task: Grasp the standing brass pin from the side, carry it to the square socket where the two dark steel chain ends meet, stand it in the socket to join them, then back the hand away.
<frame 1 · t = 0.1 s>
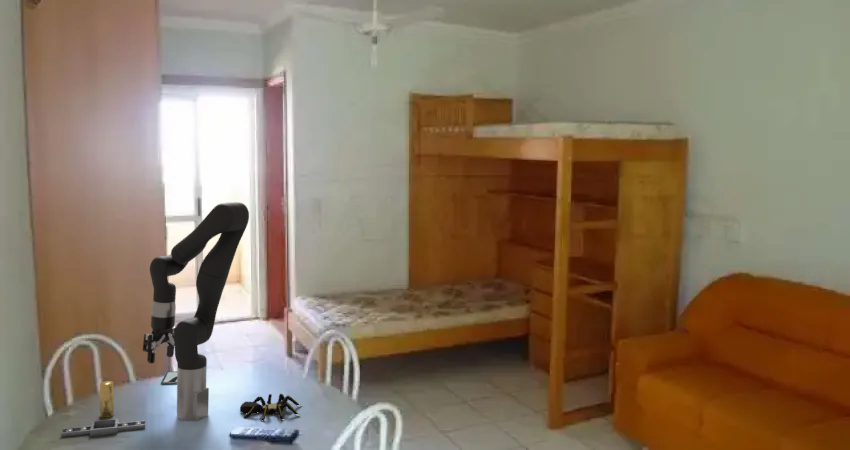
hand: (160, 359, 227), 17 cm above the table, tool pointing down, fingers open, 8 cm apart
brass pin: (106, 415, 221), on the table
smartphone: (173, 379, 260), on the table
chain ends: (104, 430, 209), on the table
toy: (271, 413, 231), on the table
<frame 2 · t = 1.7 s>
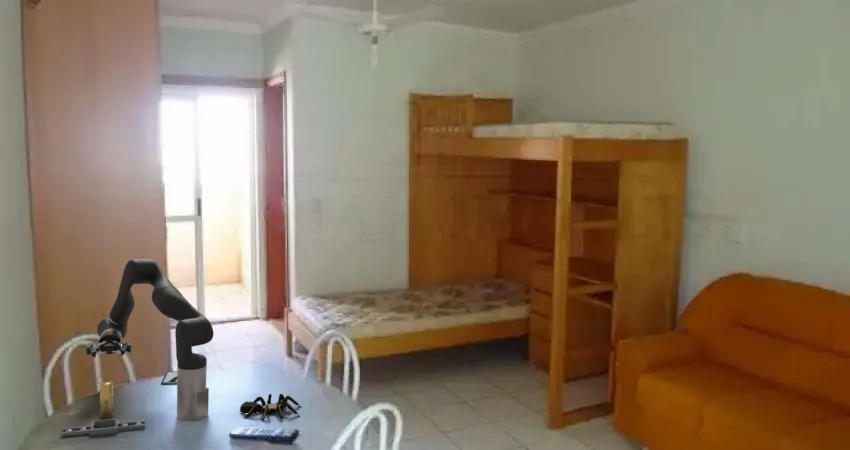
hand: (108, 353, 230), 18 cm above the table, tool horizontal, fingers open, 8 cm apart
nothing on the table moved.
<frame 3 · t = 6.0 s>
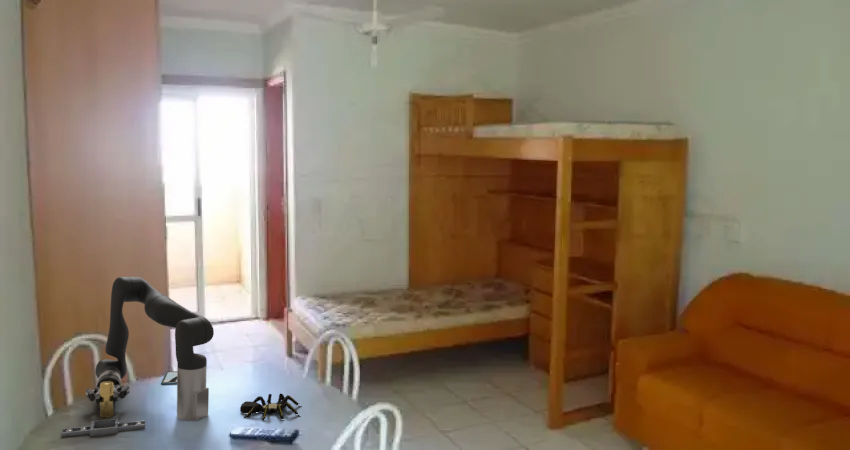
hand: (106, 400, 218), 6 cm above the table, tool horizontal, fingers closed on brass pin, 4 cm apart
brass pin: (106, 415, 221), on the table, touching gripper
everything else where it was.
when the fingers open (7 cm above the table, at t = 11.1 s): brass pin drops 1 cm, resting in chain ends.
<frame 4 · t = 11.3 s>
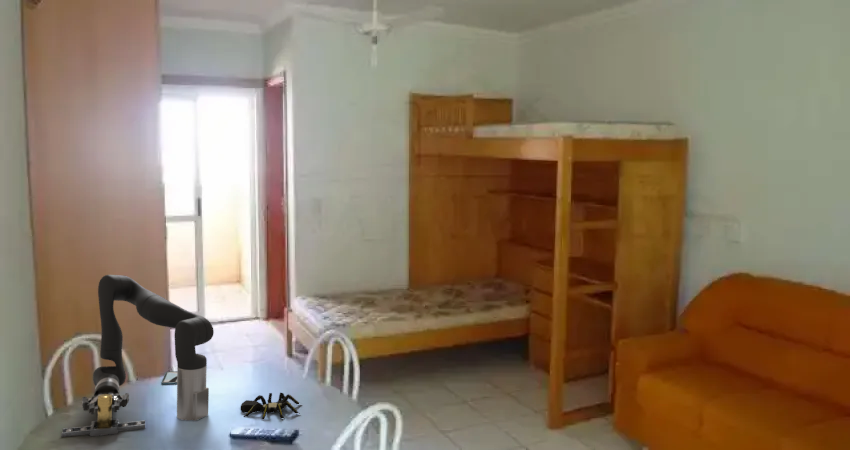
hand: (104, 410, 207), 7 cm above the table, tool horizontal, fingers open, 6 cm apart
brass pin: (104, 430, 210), resting in chain ends
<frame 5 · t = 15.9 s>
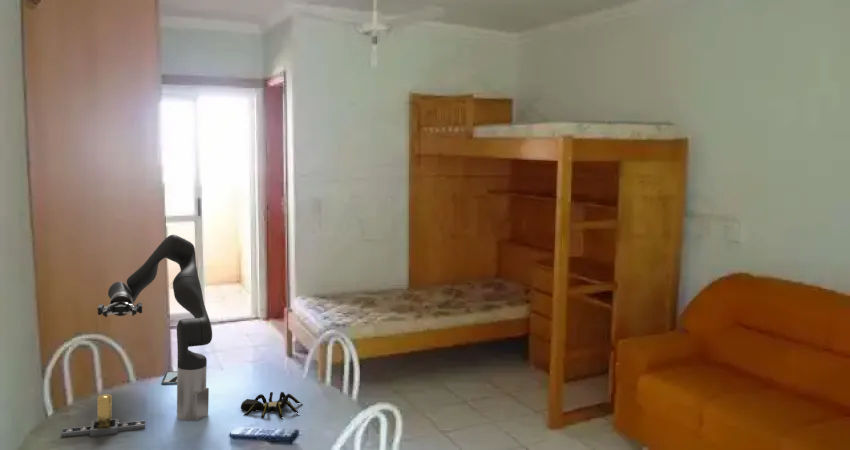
hand: (119, 313, 229), 32 cm above the table, tool horizontal, fingers open, 8 cm apart
at the end: brass pin 0.1 cm from the chain ends (horizontally); brass pin resting in chain ends; brass pin tilted 0° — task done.
